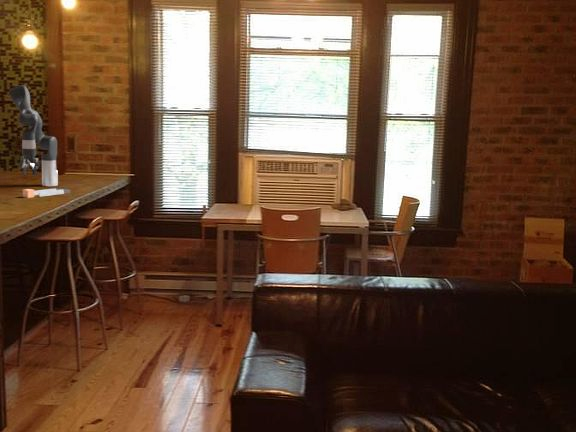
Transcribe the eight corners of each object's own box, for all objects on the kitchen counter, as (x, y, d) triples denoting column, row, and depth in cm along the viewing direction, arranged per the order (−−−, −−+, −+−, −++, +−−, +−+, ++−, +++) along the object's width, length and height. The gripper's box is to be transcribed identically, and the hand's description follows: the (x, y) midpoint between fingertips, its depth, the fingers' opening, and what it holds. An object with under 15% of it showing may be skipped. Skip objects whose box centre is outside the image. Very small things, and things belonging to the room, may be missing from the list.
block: (29, 196, 407) (29, 188, 407) (34, 197, 405) (34, 189, 404) (23, 197, 404) (22, 189, 403) (28, 197, 401) (27, 190, 401)
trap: (61, 191, 430) (61, 188, 430) (70, 192, 426) (70, 190, 426) (55, 192, 426) (55, 189, 426) (63, 193, 422) (63, 190, 422)
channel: (55, 192, 426) (55, 188, 425) (63, 193, 422) (63, 189, 421) (31, 195, 411) (31, 191, 410) (40, 196, 407) (40, 192, 406)
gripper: (15, 147, 400) (16, 174, 403) (31, 148, 393) (32, 176, 396) (26, 146, 407) (27, 173, 410) (42, 148, 400) (42, 175, 402)
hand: (29, 174), depth 403 cm, fingers open, 8 cm apart
